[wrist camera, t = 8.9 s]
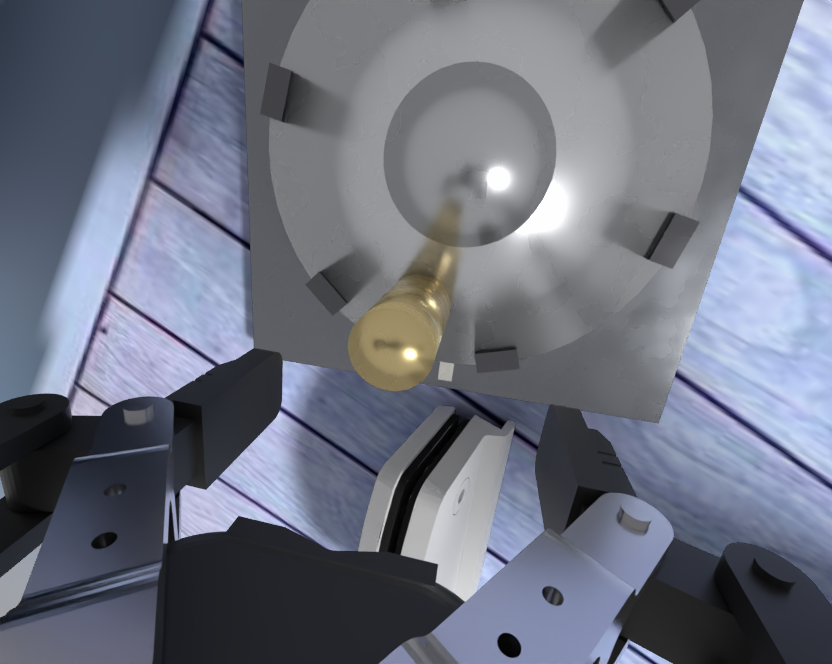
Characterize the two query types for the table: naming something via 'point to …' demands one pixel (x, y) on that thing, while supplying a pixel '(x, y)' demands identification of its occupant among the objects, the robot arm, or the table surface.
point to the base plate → (618, 336)
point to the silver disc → (485, 169)
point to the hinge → (441, 497)
